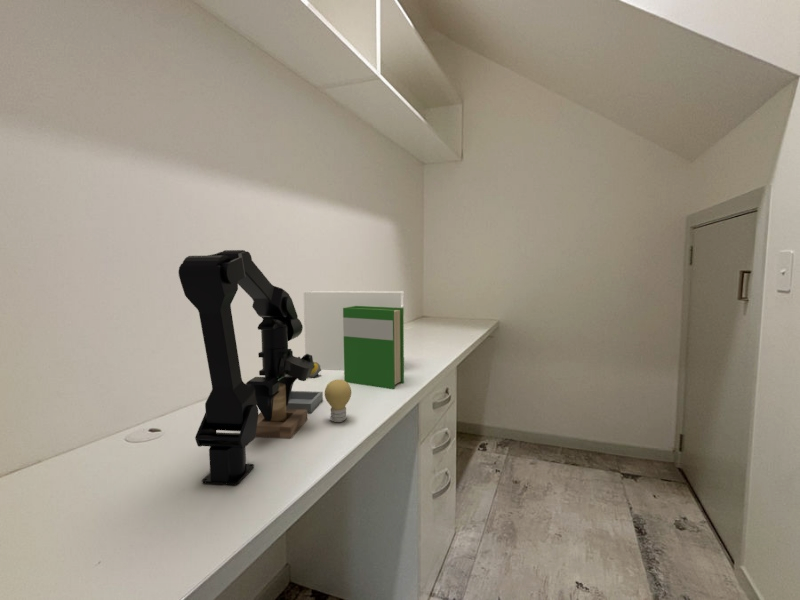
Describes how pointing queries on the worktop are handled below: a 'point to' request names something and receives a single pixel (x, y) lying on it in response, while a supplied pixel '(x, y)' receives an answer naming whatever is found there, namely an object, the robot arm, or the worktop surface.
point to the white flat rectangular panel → (337, 321)
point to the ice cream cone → (315, 370)
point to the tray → (304, 400)
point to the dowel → (279, 405)
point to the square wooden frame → (282, 425)
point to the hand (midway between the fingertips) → (277, 412)
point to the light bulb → (338, 398)
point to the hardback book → (373, 346)
